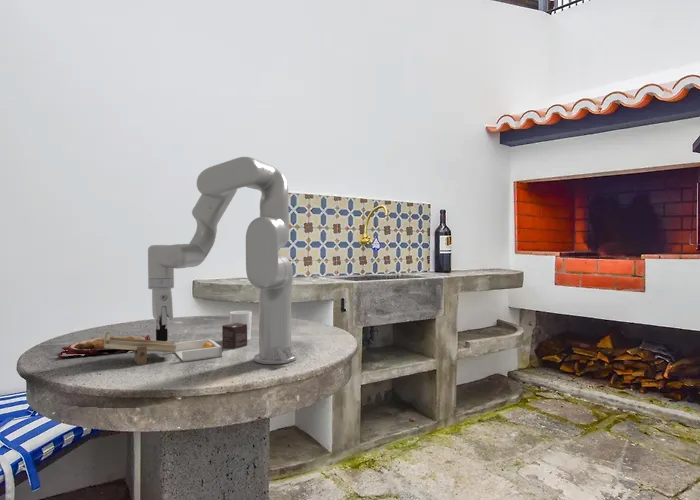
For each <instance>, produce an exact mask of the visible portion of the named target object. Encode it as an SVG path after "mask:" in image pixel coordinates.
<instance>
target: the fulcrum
mask: <svg viewBox="0 0 700 500" xmlns="http://www.w3.org/2000/svg"><path fill="white" fill-rule="evenodd" d="M147 352H148V351H147V347H146V346H140V347H137V350H134V352H133V353H134V358H133V359H134V361H135V362H136V365H137V366H143V365H142V364H144V365H147V363H148V359H147V358H148V357H147V356H148V354H147Z"/></svg>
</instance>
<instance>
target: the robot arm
mask: <svg viewBox="0 0 700 500" xmlns="http://www.w3.org/2000/svg"><path fill="white" fill-rule="evenodd" d="M196 187H197V190H198V191H199V193H200V196H199V198H198V200H197V202H196V204H195V205H194V207H193V208H192V210H191V215H192V218H194V219H195V222H196V231H195V233H194V235H193V237H192V238H191V240H190V242H189V243H183V244H182V243H180V244H179V243H177V244H151V245H149V247H148V248H147V284H148V287H147V288H148V290H151V292H152V293H151V295H152V296H151V302H152V303H151V307H152V309H151V310H152V311H151V312H152V317H153V318H154V319H155V327H156V329H155V340H156V341H166V342H168V340H169V339H168V336H169V334H168V319H169V320H170V321H171V320H173V319H174V313H173V312H174V310H173V309H174V307H173V294H172V293H173V292H172V289H174V288H175V282H174V281H175V279H174V277H175V275H174V274H175V273H174V269H187V268H196V267H198V266H199V265H201V264H202V263H203V262H204V261H205V259H206V258H207V257H208V255H209V254H210V252H211V250H212V248H213V247H214V244H215V241H216V237H217V232H218V231H217V230H218V229H217V228H218V224H219V222H221V219H222V217H223V215H224V214H225V212H226V210H227V209H228V206H229V205H230V204H231V202H232V201H233V198H234V197H235V195H236V193H237V191H238V189H241V188H249V189H254V190H257V191H260V192H261V196H260V200H259V216H258V217H256V218H254V219H253V220H252V221H250V223H249V225H248V227H247V229H246V232H245V271H246V277H247V280H248V282H249V283H250V284H251V285H252V286H253V287H255V288H257V289H260V290H259V296H258V331H259V332H258V337H259V339H258V345H259V353H256V354H255V355H254V356H253V361H255V363H258V364H261V365H282V364H287V363H291V362H293V361H295V360H297V353H295V352H294V351H292V288H293V281H294V280H293V278H294V268H293V265H292V262H291V261H290V259H288V257H286V256H284V255H282V254H280V253H279V249H282V248H284V247H285V246H286V245H287V244H288V242H289V240H290V239H289V238H290V224H289V223H290V215H289V214H290V213H289V211H290V210H289V186H288V182H287V179H286V177H285V175H284V174H283V173H282V172H281V171H280V170H279V169H278V168H275V167H274V166H272V165H271V164H267V163H266V162H263V161H261V160H258V159H256V158H253V157H250V156H241V157H236V158H233V159H229V160H227V161H224V162H221V163H217V164H214V165H212V166H209V167H207V168H205V169H203V170H202V171H201V172H200V173H199V174H198V177H197V179H196Z"/></svg>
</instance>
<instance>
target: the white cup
mask: <svg viewBox="0 0 700 500" xmlns="http://www.w3.org/2000/svg"><path fill="white" fill-rule="evenodd" d="M252 314H253V311H252V310H233V311H230V312H229V324H232V323H240V324H247V341H250V340H251V338H252V336H251V335H252V333H251V332H252V324H253V323H252V321H253V315H252Z"/></svg>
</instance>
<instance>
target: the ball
mask: <svg viewBox="0 0 700 500" xmlns="http://www.w3.org/2000/svg"><path fill="white" fill-rule="evenodd" d="M211 347H213V346H212V344H211V343H209V342H207V343H205V344H204V345H203V348H211Z"/></svg>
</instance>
